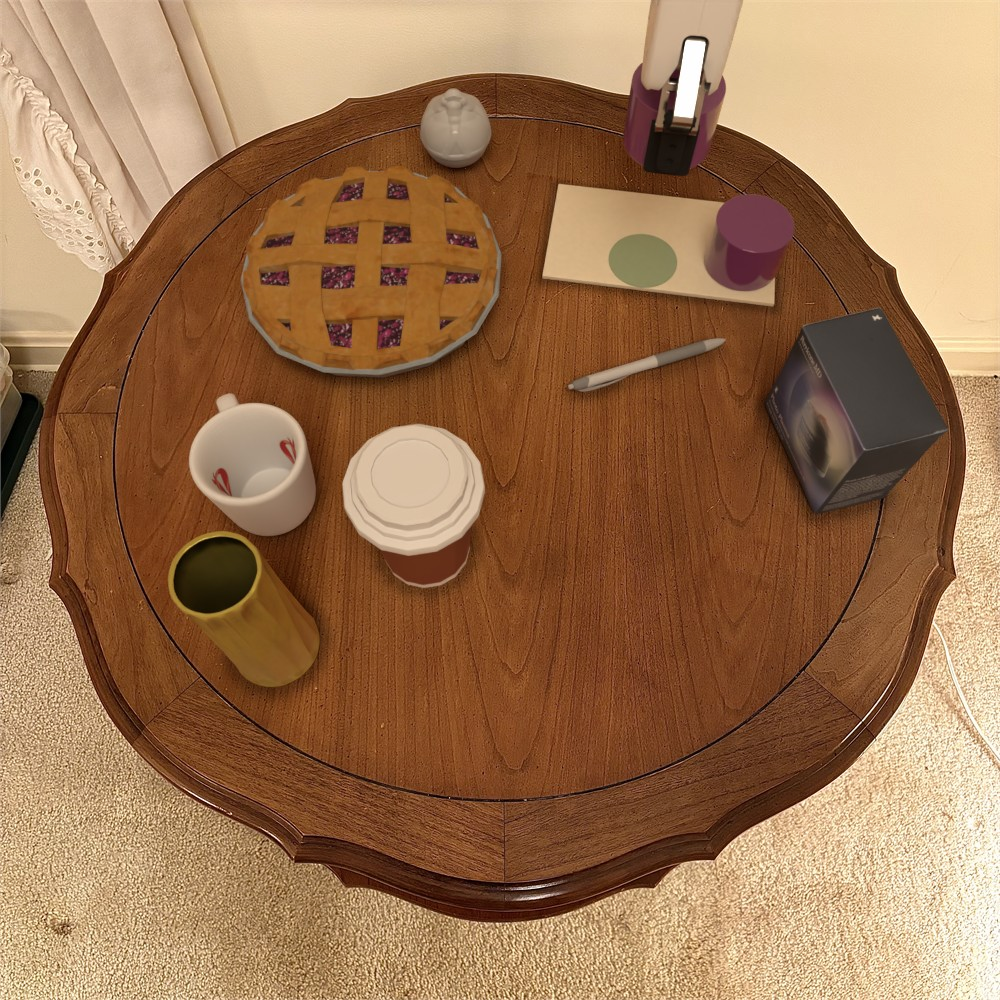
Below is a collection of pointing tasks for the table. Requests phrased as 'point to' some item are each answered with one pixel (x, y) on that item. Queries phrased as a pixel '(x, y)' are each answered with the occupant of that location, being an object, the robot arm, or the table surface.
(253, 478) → the cup
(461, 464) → the coffee cup
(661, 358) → the pen
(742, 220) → the purple cylinder puck
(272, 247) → the pie
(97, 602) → the table surface
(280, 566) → the table surface
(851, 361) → the small box
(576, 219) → the placemat
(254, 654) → the vase
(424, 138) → the figurine
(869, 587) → the table surface
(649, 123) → the purple short cylinder
